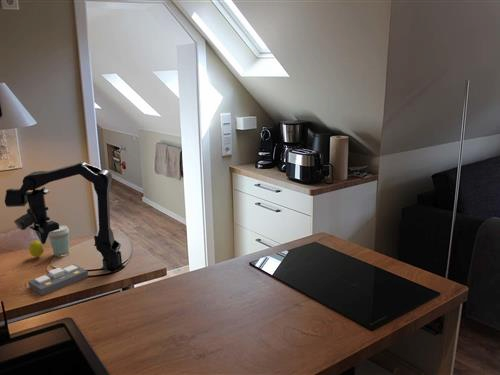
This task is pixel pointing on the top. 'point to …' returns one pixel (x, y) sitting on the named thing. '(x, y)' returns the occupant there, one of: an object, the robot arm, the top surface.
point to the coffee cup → (60, 240)
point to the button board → (58, 281)
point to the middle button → (56, 273)
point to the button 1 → (42, 279)
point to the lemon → (36, 248)
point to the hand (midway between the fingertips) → (43, 243)
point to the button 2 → (70, 269)
